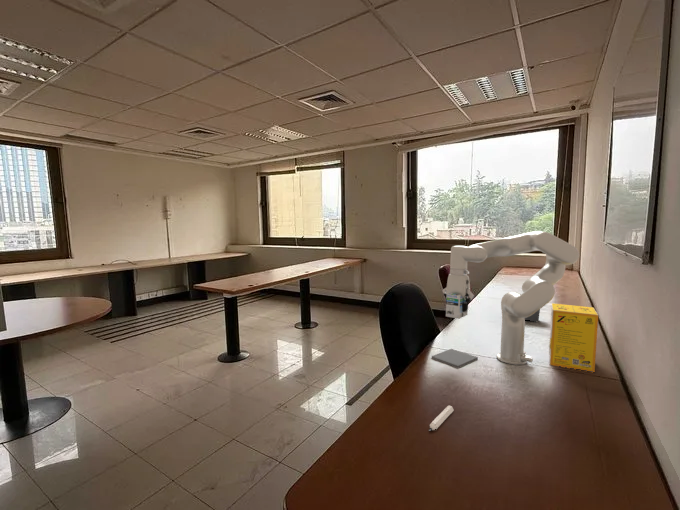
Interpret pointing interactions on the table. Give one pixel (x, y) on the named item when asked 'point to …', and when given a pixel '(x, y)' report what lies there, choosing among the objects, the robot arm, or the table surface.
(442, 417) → the marker
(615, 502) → the table surface
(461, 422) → the table surface
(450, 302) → the light bulb box
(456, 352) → the mat
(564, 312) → the packaging box
